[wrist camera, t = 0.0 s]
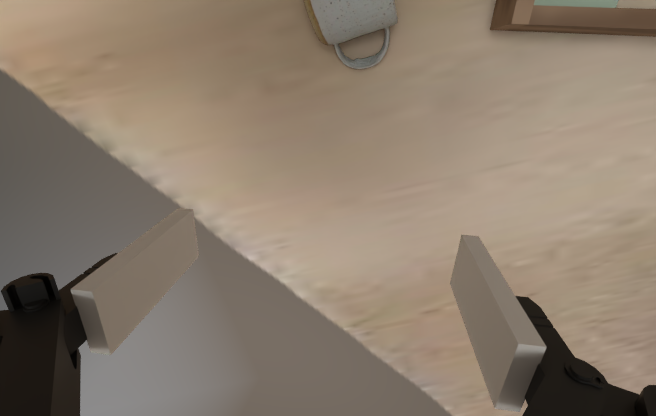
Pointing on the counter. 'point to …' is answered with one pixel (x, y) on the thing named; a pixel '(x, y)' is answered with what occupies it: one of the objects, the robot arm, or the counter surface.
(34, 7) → the counter surface
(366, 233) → the counter surface
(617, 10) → the walnut corner walls
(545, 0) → the mat
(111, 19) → the counter surface
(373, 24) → the ceramic mug
